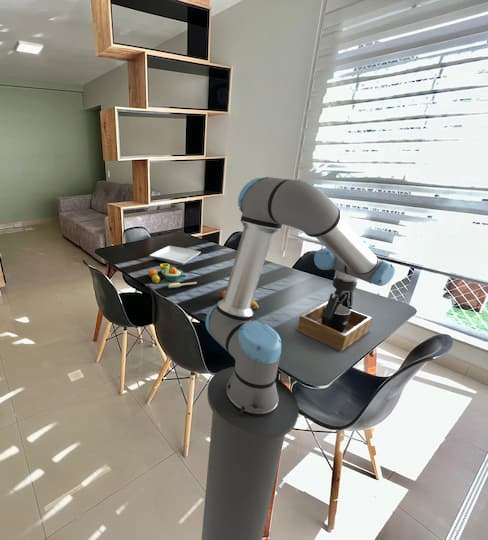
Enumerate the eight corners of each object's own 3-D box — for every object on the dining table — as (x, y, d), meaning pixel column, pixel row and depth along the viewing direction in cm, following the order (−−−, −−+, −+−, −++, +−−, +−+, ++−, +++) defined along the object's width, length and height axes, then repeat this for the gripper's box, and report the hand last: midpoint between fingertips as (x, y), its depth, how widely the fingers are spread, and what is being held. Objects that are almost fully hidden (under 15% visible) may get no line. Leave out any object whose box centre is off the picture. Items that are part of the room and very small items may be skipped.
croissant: (259, 314, 136) (265, 299, 136) (252, 313, 129) (258, 296, 128) (221, 299, 150) (226, 285, 150) (212, 297, 142) (217, 282, 142)
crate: (341, 351, 105) (345, 336, 102) (297, 330, 118) (300, 315, 116) (367, 332, 116) (372, 317, 114) (324, 314, 129) (328, 301, 127)
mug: (341, 340, 110) (347, 317, 106) (316, 331, 116) (321, 309, 112) (348, 327, 118) (355, 305, 114) (324, 319, 124) (329, 298, 120)
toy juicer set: (141, 277, 172) (141, 265, 169) (165, 270, 182) (165, 258, 179) (172, 294, 150) (172, 280, 147) (197, 285, 160) (198, 272, 157)
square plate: (148, 260, 200) (148, 254, 198) (169, 249, 221) (169, 245, 219) (182, 267, 185) (183, 262, 184) (201, 256, 206) (201, 250, 205)
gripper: (350, 268, 118) (338, 314, 126) (319, 282, 105) (307, 332, 113) (371, 274, 112) (357, 321, 120) (340, 289, 99) (327, 341, 107)
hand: (333, 327), depth 117 cm, fingers closed on mug, 12 cm apart
